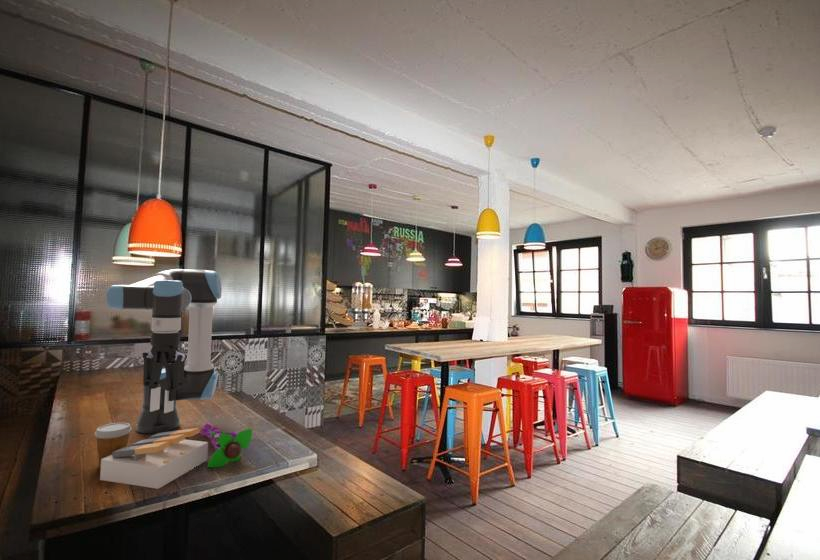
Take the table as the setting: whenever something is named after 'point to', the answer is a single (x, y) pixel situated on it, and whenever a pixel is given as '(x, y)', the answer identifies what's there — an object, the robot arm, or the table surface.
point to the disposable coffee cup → (111, 438)
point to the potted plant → (226, 445)
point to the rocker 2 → (177, 433)
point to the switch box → (155, 465)
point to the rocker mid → (161, 440)
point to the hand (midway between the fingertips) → (161, 410)
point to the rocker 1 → (140, 449)
